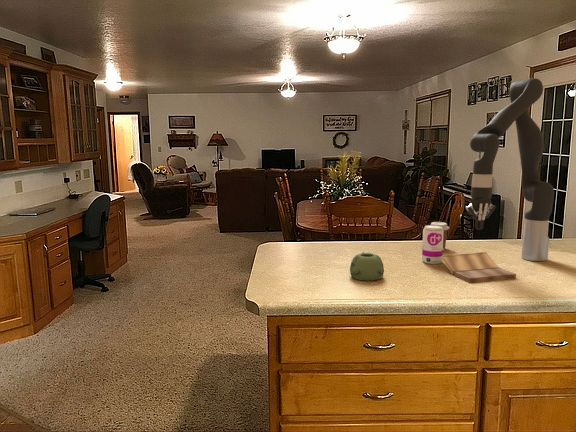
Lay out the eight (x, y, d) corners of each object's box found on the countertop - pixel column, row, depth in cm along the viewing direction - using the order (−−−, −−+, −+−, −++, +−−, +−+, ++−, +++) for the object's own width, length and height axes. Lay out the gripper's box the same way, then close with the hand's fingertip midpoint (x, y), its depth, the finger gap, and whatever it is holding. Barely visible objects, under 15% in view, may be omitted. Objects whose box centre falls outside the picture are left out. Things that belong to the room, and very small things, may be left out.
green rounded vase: (387, 282, 175) (388, 258, 174) (352, 282, 175) (352, 259, 174) (378, 270, 191) (378, 248, 190) (345, 270, 191) (346, 249, 189)
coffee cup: (424, 246, 231) (425, 221, 229) (443, 245, 232) (444, 221, 230) (432, 250, 222) (433, 225, 220) (451, 250, 223) (452, 224, 221)
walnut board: (499, 271, 187) (499, 267, 187) (515, 278, 179) (516, 273, 178) (454, 275, 182) (454, 271, 182) (469, 282, 174) (469, 278, 173)
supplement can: (443, 264, 198) (444, 229, 195) (422, 263, 199) (423, 228, 197) (441, 259, 206) (442, 225, 203) (421, 259, 207) (422, 224, 205)
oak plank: (484, 254, 195) (486, 251, 194) (497, 270, 189) (498, 267, 188) (441, 258, 190) (442, 255, 189) (452, 274, 183) (453, 271, 182)
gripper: (490, 184, 193) (487, 226, 195) (461, 185, 189) (458, 228, 192) (502, 186, 185) (499, 230, 188) (473, 187, 182) (470, 232, 185)
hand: (479, 229), depth 190 cm, fingers closed
